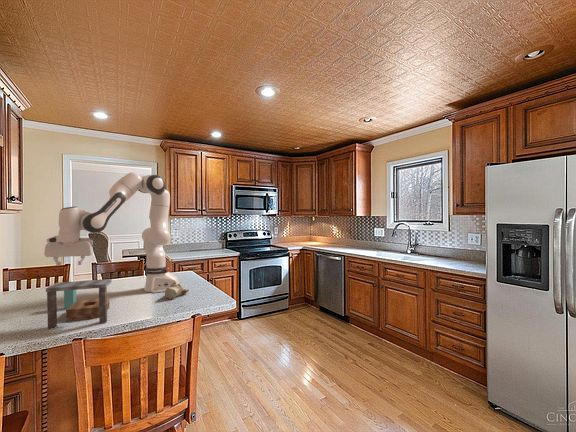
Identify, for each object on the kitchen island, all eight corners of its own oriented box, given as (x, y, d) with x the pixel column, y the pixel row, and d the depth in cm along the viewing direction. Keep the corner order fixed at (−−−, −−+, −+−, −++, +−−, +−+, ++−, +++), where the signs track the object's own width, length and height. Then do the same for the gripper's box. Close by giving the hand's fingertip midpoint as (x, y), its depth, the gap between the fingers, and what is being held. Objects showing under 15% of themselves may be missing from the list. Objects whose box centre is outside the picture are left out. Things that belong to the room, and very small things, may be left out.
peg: (76, 306, 152) (76, 285, 152) (73, 308, 148) (73, 287, 148) (67, 307, 151) (67, 286, 151) (64, 309, 147) (63, 288, 147)
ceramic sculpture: (159, 284, 163) (174, 279, 178) (158, 299, 162) (173, 293, 177) (177, 285, 161) (190, 280, 176) (176, 300, 161) (189, 294, 176)
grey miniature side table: (118, 306, 151) (117, 273, 151) (106, 323, 130) (105, 284, 129) (68, 311, 144) (67, 276, 144) (46, 329, 123) (45, 288, 122)
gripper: (94, 237, 155) (94, 263, 155) (48, 238, 149) (49, 264, 149) (90, 238, 149) (90, 265, 149) (42, 239, 143) (42, 267, 143)
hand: (69, 265), depth 149 cm, fingers open, 8 cm apart
